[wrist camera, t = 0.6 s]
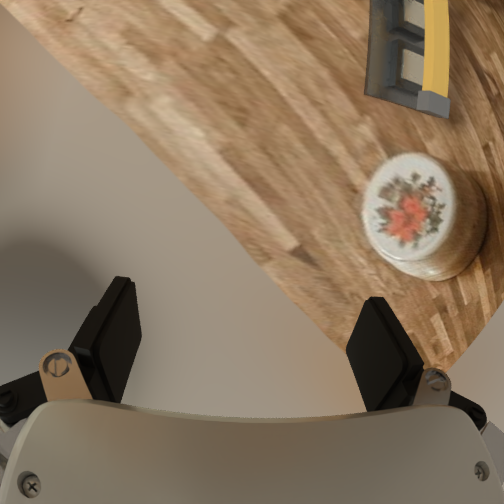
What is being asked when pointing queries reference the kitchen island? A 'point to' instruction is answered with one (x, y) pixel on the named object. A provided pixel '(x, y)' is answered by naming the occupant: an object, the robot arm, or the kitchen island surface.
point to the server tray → (396, 51)
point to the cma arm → (435, 60)
